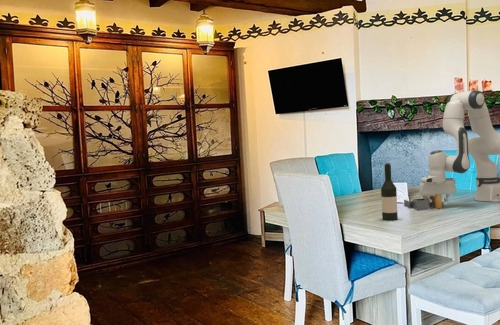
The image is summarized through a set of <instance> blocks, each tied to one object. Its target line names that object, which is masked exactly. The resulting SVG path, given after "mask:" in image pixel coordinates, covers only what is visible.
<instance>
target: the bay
mask: <svg viewBox="0 0 500 325" xmlns="http://www.w3.org/2000/svg"><path fill="white" fill-rule="evenodd" d="M444 203H445V202H443V201H442V207H444V206H445V205H444ZM403 205H404V206H405V207H406V208H409V209H413V200H407V199H404V200H403ZM431 207H432V208H435V202H432V203H429V208H431Z"/></svg>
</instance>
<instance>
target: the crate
mask: <svg viewBox="0 0 500 325" xmlns="http://www.w3.org/2000/svg"><path fill="white" fill-rule="evenodd" d="M429 198H430V199H431V200H432V202H435V195H430V197H429ZM422 199H427V197H426V195H422ZM427 200H428V199H427Z"/></svg>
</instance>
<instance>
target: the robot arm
mask: <svg viewBox="0 0 500 325" xmlns="http://www.w3.org/2000/svg"><path fill="white" fill-rule="evenodd" d="M485 101H486V98H485V95H484V93H483V92H482V91H481V90H466V91H462V92H456V93H451V94H450V95H448V97H447V99H446V104H445V108H444V112H443V116H442V117H443V118H442V130H444V132H445V133H446V134H448V135H449V136H451V137H454V138H455V141H456V155H450V154H447V153H446V152H444V150H442V149H441V150H439V149H438V150H433V151H431V152H430V153H429V155H428V168H429V171H428V175H425V176H424V177H421V178H420V184H419V188H418V189H419V190H418V191H419V192H418V193H419V194H420V195H421V196H426V197H427V199H428V200H429V203H432V200H431V199H430V198H429V197H430V195H434V196H435V195H438V194H441V195H445V196H446V197H445V198H443V199H444V200H443V201H444V202H443V203H445V202H446V203H448V202H449V198H450V196H451V195H452V194H454V195H455V194H456V193H457V187H456V184H457V183H456V181H457V180H456V179H455V178H453V177H446V173H447V172H448V173H456V174H465V173H466V172H467V171H469V169H470V166H471V162H470V156H471V157H472V159H473V161H474V163H475V170H476V177H475V186H476V191H475V196H474V200H475V201H477V202H492V203H499V202H500V177H498V169H497V168H498V166H497V163H496V162H494V161H493V160H492V159H491V158H490V156H498V155H500V134H499V133H498V132H497V131H496V130H495V128H494V127H493V124H492V120H491V117H490V112H489V108H488V107H487V103H486V102H485ZM465 111H467V115H468V120H469V125H470V127H471V130H472V132H473V133H475V134H477V135H478V137H472V138H469V136H468V131H467V129H466V128H465V125H464V119H465V118H464V117H465ZM469 155H470V156H469Z"/></svg>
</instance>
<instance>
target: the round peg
mask: <svg viewBox="0 0 500 325" xmlns="http://www.w3.org/2000/svg"><path fill="white" fill-rule="evenodd" d="M434 196H435V207H434V208H435V209H437V210H438V209H441V210H442V208H443V206H442V202H443V201H442V200H443V199H442V194H438V195H434Z"/></svg>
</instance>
